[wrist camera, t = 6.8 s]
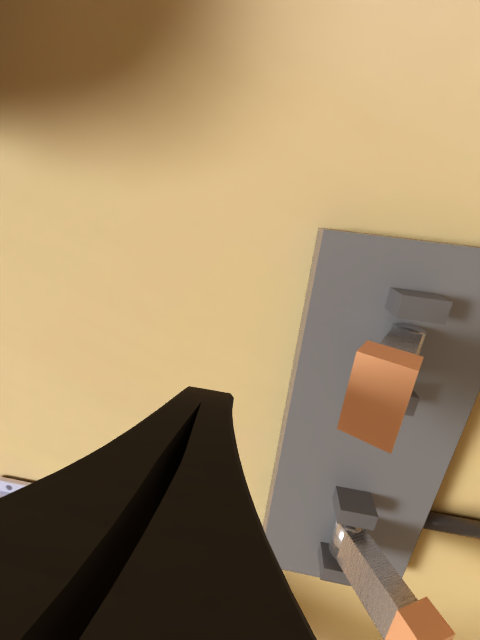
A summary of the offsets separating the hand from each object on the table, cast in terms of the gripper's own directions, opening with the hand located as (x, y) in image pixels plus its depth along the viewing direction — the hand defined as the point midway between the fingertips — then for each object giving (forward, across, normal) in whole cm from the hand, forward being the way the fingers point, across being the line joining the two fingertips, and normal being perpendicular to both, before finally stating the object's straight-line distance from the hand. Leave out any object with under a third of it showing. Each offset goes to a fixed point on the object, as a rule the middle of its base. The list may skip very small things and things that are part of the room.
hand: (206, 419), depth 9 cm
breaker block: (+10, -11, +5) cm, 16 cm away
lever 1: (+7, -8, 0) cm, 10 cm away
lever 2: (+7, -8, +12) cm, 15 cm away
